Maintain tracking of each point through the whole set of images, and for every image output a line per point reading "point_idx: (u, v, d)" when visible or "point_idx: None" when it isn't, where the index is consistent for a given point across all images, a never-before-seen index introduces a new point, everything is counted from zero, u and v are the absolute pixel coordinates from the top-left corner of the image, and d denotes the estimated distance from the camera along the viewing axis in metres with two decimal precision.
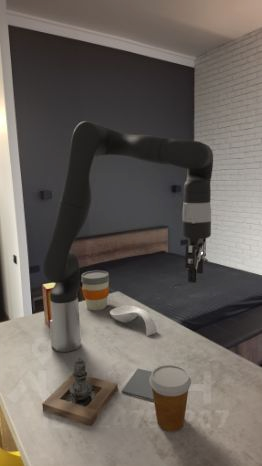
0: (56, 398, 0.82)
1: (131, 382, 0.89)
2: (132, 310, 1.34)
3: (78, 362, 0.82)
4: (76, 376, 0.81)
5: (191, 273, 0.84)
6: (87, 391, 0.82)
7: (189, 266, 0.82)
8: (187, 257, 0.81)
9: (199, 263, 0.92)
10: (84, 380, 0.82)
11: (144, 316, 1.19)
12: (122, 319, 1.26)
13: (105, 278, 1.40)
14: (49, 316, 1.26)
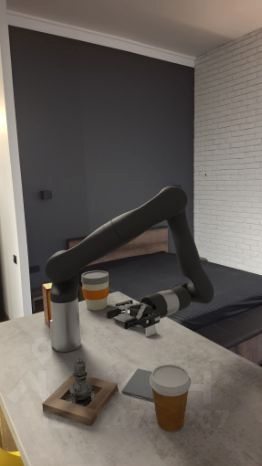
0: (56, 398, 0.82)
1: (131, 382, 0.89)
2: None
3: (78, 362, 0.82)
4: (76, 376, 0.81)
5: (134, 323, 0.84)
6: (87, 391, 0.82)
7: (145, 323, 0.84)
8: (152, 318, 0.86)
9: (116, 313, 0.92)
10: (84, 380, 0.82)
11: None
12: (122, 319, 1.26)
13: (105, 278, 1.40)
14: (49, 316, 1.26)
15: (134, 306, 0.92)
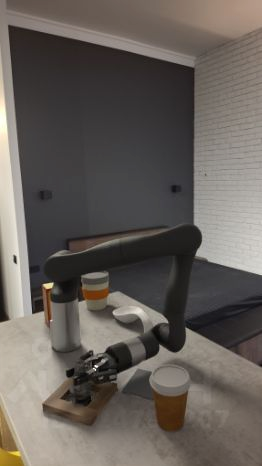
0: (56, 398, 0.82)
1: (131, 382, 0.89)
2: (135, 311, 1.33)
3: (78, 362, 0.82)
4: None
5: (85, 379, 0.80)
6: (87, 391, 0.82)
7: (96, 379, 0.80)
8: (104, 375, 0.80)
9: None
10: None
11: (143, 318, 1.18)
12: (123, 320, 1.26)
13: (105, 278, 1.40)
14: (49, 316, 1.26)
15: (97, 359, 0.86)
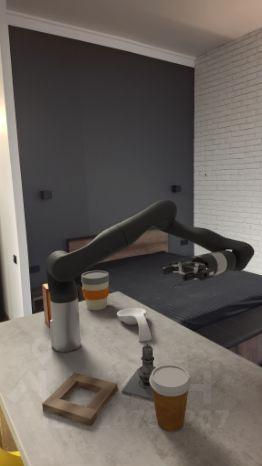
0: (56, 398, 0.82)
1: (131, 382, 0.89)
2: (141, 313, 1.31)
3: (146, 347, 0.87)
4: (145, 360, 0.87)
5: (192, 276, 0.93)
6: None
7: (202, 275, 0.93)
8: (207, 272, 0.94)
9: (171, 270, 1.01)
10: (152, 364, 0.87)
11: (140, 321, 1.15)
12: (125, 321, 1.25)
13: (105, 278, 1.40)
14: (49, 316, 1.26)
15: (187, 264, 1.01)
